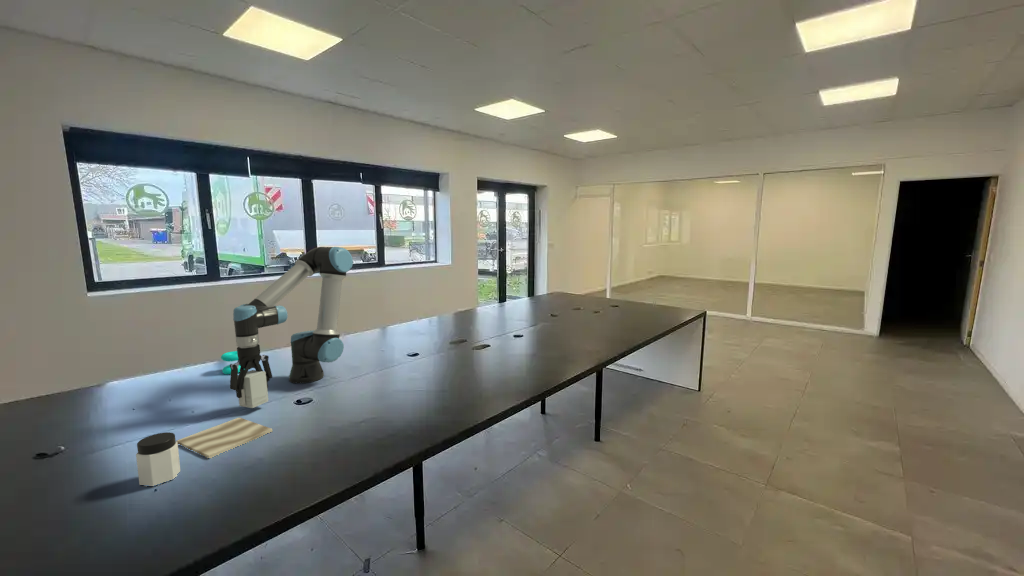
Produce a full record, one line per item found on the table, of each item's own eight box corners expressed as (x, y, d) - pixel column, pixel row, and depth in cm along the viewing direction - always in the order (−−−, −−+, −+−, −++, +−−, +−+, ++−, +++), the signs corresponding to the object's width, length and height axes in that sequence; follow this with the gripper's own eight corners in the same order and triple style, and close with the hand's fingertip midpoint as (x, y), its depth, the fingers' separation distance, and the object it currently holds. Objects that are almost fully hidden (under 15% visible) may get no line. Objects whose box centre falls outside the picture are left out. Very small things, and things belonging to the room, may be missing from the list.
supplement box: (269, 401, 164) (266, 371, 163) (252, 408, 157) (249, 377, 156) (255, 398, 167) (252, 369, 165) (238, 406, 160) (235, 375, 158)
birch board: (176, 444, 135) (175, 440, 135) (239, 420, 153) (239, 417, 152) (209, 459, 126) (209, 455, 126) (272, 432, 144) (272, 428, 143)
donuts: (233, 356, 200) (215, 355, 202) (235, 375, 202) (217, 374, 203) (249, 350, 210) (232, 349, 211) (250, 369, 211) (233, 368, 213)
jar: (177, 466, 122) (173, 428, 120) (183, 477, 117) (179, 437, 115) (137, 480, 115) (132, 440, 113) (142, 491, 110) (137, 450, 108)
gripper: (225, 353, 148) (231, 412, 151) (279, 340, 166) (284, 393, 169) (213, 351, 151) (220, 409, 155) (268, 338, 169) (273, 390, 173)
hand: (253, 400), depth 162 cm, fingers closed on supplement box, 8 cm apart
